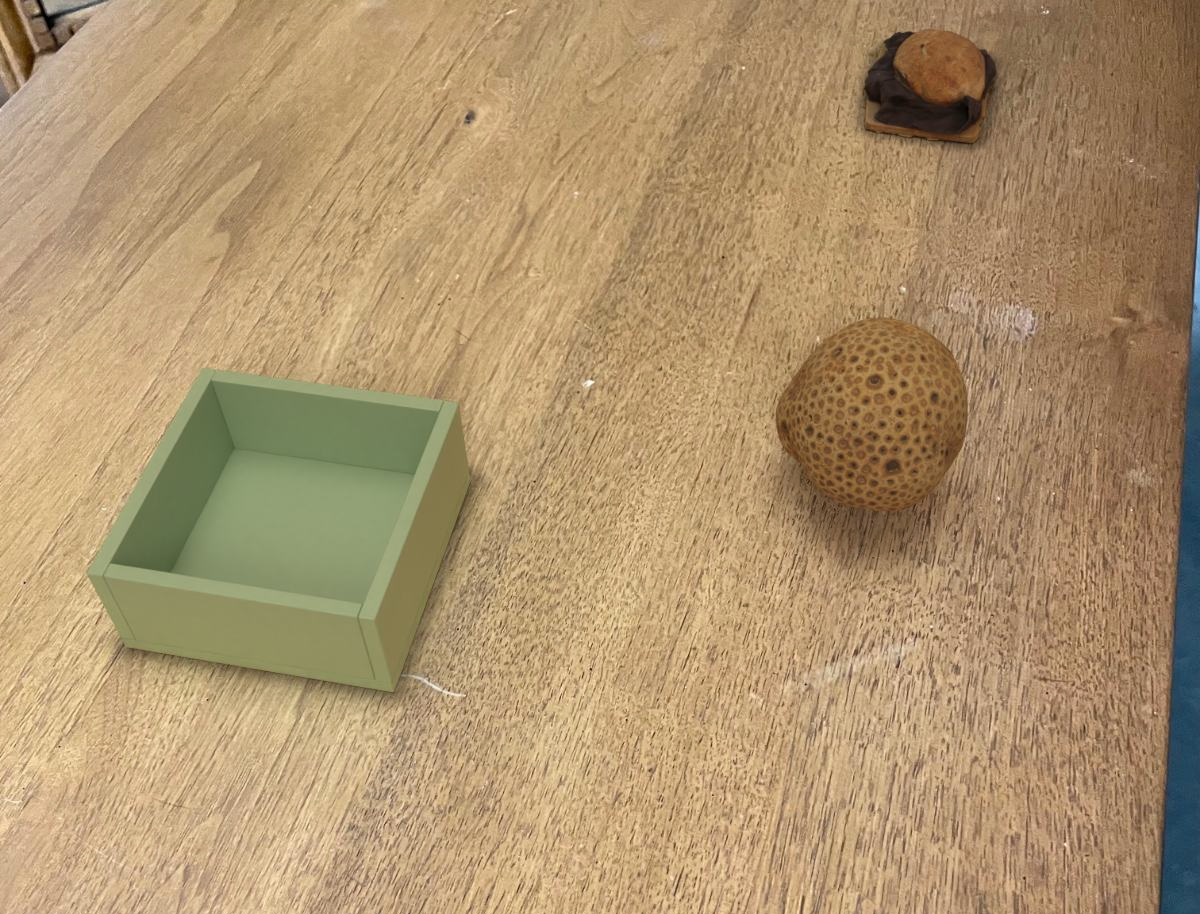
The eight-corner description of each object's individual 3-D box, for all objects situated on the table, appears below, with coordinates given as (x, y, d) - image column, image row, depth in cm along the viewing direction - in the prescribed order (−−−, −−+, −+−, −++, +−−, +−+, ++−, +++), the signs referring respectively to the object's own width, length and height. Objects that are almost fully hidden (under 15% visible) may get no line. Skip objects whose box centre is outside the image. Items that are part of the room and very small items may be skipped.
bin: (125, 647, 65) (85, 573, 60) (229, 446, 73) (201, 367, 68) (394, 693, 63) (374, 620, 58) (471, 481, 71) (459, 402, 66)
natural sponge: (971, 546, 67) (1016, 402, 59) (798, 568, 67) (819, 427, 59) (920, 418, 73) (954, 271, 65) (759, 438, 72) (773, 292, 64)
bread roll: (877, 46, 95) (884, -5, 92) (998, 60, 93) (1009, 9, 91) (852, 130, 89) (859, 79, 86) (981, 147, 87) (993, 96, 84)
